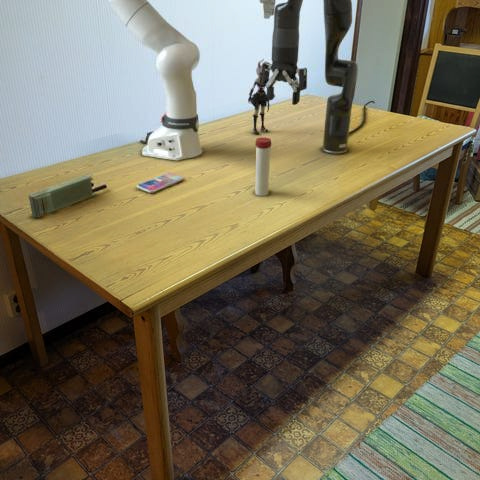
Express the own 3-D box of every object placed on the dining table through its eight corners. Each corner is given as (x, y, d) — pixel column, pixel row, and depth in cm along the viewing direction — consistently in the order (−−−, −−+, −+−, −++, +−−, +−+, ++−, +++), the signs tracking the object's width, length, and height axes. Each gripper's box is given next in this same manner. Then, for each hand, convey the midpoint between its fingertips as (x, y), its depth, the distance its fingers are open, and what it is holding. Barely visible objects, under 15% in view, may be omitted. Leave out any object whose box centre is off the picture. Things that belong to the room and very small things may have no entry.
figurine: (251, 137, 208) (253, 60, 193) (241, 133, 211) (242, 58, 197) (276, 130, 216) (279, 56, 202) (266, 126, 220) (268, 54, 205)
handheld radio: (30, 215, 144) (102, 188, 161) (37, 219, 142) (109, 191, 159) (26, 193, 140) (100, 168, 157) (33, 197, 138) (107, 171, 155)
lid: (270, 148, 149) (271, 142, 149) (255, 148, 150) (255, 141, 149) (271, 143, 153) (271, 137, 153) (256, 143, 154) (256, 137, 153)
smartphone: (184, 177, 167) (150, 191, 157) (184, 180, 167) (151, 194, 157) (168, 171, 171) (134, 185, 161) (168, 174, 171) (135, 188, 161)
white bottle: (267, 196, 157) (270, 143, 149) (254, 195, 158) (256, 143, 149) (268, 190, 161) (270, 139, 153) (255, 190, 161) (257, 138, 153)
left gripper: (265, -33, 165) (264, 13, 172) (255, -32, 148) (254, 20, 155) (284, -33, 164) (282, 14, 171) (276, -31, 147) (274, 20, 154)
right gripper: (314, 45, 142) (309, 103, 150) (271, 40, 149) (269, 95, 157) (300, 48, 136) (296, 108, 144) (257, 43, 144) (255, 100, 152)
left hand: (268, 16), depth 163 cm, fingers open, 8 cm apart
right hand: (282, 102), depth 151 cm, fingers open, 8 cm apart
